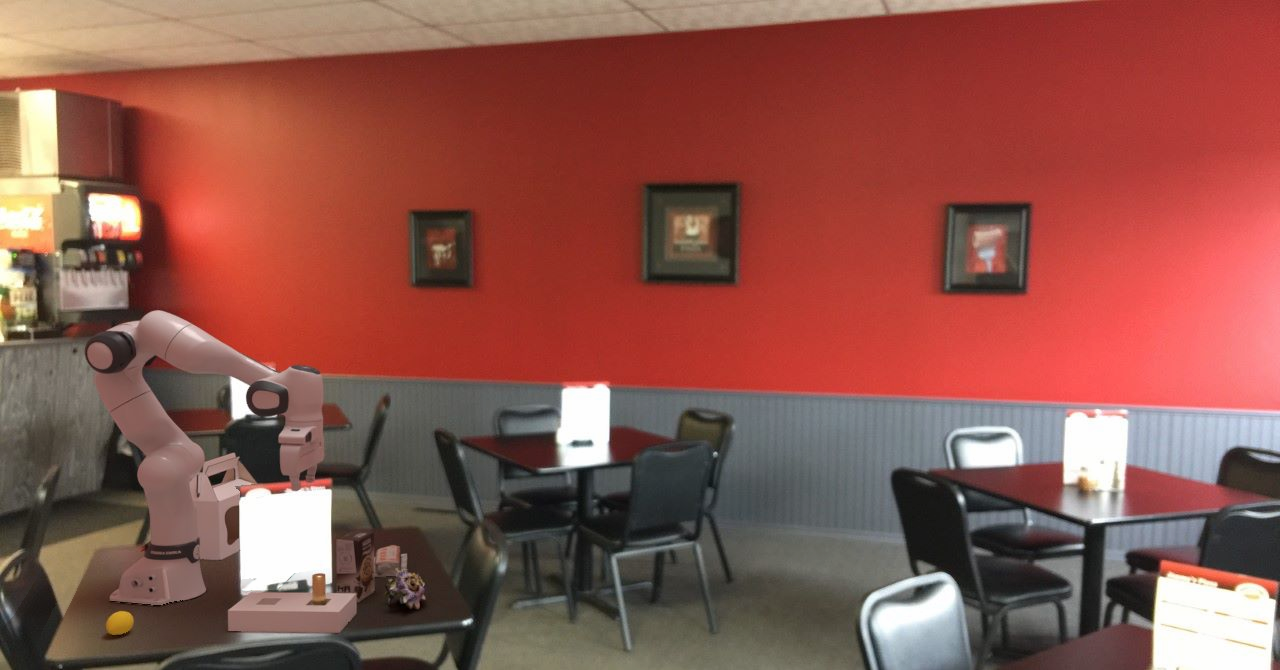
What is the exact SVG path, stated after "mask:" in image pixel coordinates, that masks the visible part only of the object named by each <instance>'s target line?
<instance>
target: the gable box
mask: <svg viewBox="0 0 1280 670" xmlns="http://www.w3.org/2000/svg"><path fill="white" fill-rule="evenodd" d="M239 459H240V455H239V456H236V453H235V452H230V453H227V454H224V455H221V456H218V457H215V458H211V459H208V460H204V464H203V466H202V468H201V470H200V472H199V473H198V475H197V476H195V477H194V478H193V479H191V480H190V491H191V495H192V499H193V502H194V504H195V505H196V507H197V522H198V537H199V538H200V559H199V560H202V559H204V560H205V561H222V560H224V559H226V558H228V557H230V556H232V555H234V554H236V553H238V552H240V551H239V500H240V491H239V490H238V489H236V487H235V486H241V485H251V484H259V483H258V482H257V480H256V479H255V478H254V477H253V475H252V474H251V473H250V471H249V470H248V469H247V467H245V465H244V464H243V463H242V462H241V460H239ZM225 471H226V472H225ZM222 472H225V474H224V477H223V478H222V481H221V483H218V484H215V485H212V483H211V481H210V478H209V477H210V476H213V475H216V474H220V473H222Z"/></svg>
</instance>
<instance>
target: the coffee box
mask: <svg viewBox="0 0 1280 670" xmlns="http://www.w3.org/2000/svg"><path fill="white" fill-rule="evenodd" d="M335 544H336V545H335V546H336V549H335V550H336V558H335V559H336V572H335V573H336V593H356V603H360V602H361V601H363V600H365V598H368V597H369V596H370V595H372V594H373V593H375V592H374V591H375V586H376V585H375V582H376V581H375V580H376V578H375V577H374V557H375V532H374V531H369V530H363V531H362V530H357V531H356V530H351V531H350V532H347V533H345V534H344V535H342V536H340V537H338V538H336V543H335Z"/></svg>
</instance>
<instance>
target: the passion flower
mask: <svg viewBox="0 0 1280 670" xmlns="http://www.w3.org/2000/svg"><path fill="white" fill-rule="evenodd" d="M395 573H396V577H394V580H393V577H392V578H391V577H390V578H389V579H387V582H385V583H386V584H384V587H385V589H386V591H385V592H384V593H383V595H382V597H384V598H385V597H386V596H388V606H390V604H391V601H392V600H393V599H395V596H396V595H398V594H400V593H401V594H402V595H401V597H400V599H399V603H400V604H401V605H404V604H405V605H406V607H407V608H408V609H410V610H412V609H414V610H419V609H420V601H421V600H422V601H425V600H426V596H425V595H424V593H426V591H425V590H427V589H426V588H424V586H425V582H423V579H422V577H421V573H420V572H417V574H416V573H415V572H408V568H407V569H405V570H403V572H401V571H399V570H398V569H397V568H395Z"/></svg>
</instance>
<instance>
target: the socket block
mask: <svg viewBox="0 0 1280 670" xmlns="http://www.w3.org/2000/svg"><path fill="white" fill-rule="evenodd" d="M357 608H358V607H357V603H356V593H337V592H333V593H332V592H326V605H313V600H312V592H278V591H250V592H249V593H248V594H247V595H245V596H244V597H243V598H242V599H241V600H240V601H238V602H237V603H235V604H234V605H233V606H232V607H231V608H228V610H227V626H228V630H227V631H241V632H242V633H244V632H245V633H246V632H249V633H303V634H304V633H305V634H306V633H309V634H310V633H319V634H320V633H321V634H322V633H323V634H328V633H329V634H340V633H341V632H342V630H343V629H345V627H346V626H347V625H348V624H349V623H350V622H351V621H352V619H353V618H355V616H356V615H357ZM348 622H349V623H348ZM241 632H240V633H241Z"/></svg>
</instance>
